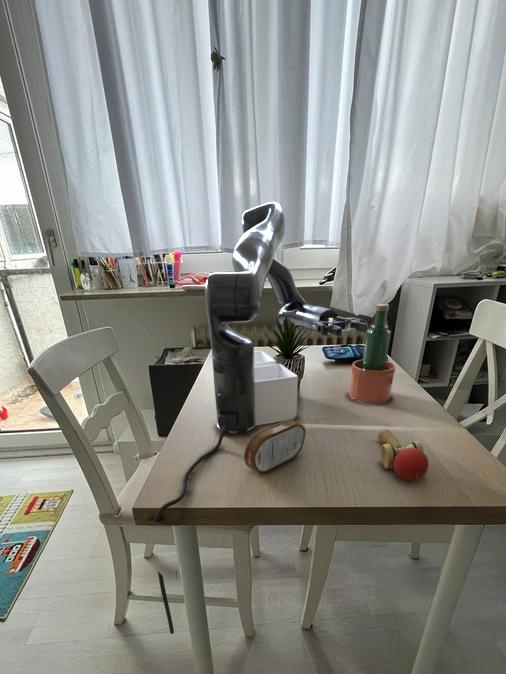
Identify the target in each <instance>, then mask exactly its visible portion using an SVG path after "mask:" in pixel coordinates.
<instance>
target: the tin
mask: <svg viewBox="0 0 506 674" xmlns="http://www.w3.org/2000/svg"><path fill="white" fill-rule="evenodd" d="M305 438H306V428H305V426H303V425H302V424H301V423H300V422H298V421H296V420H295V419H288V420H285V421H279V422H277V423H276V424H273V425H270V426H267V427H265V428H263V429H260V430H257V432H255V433H254V434H253V435H252V436H251V438H250V439H249V440H248V442H247V444H246V447H245V449H244V453H243V459H244V463H245V465H246V466H247V467H248V468H250V469H252V470H254V471H255V472H257V473H261V474H262V473H266V472H268V471H271V470H273V469H275V468H277V467H279V466H281V465H283V464H285V463H287V462H289V461H291V460H293V459H294V458H296V457H297V456H298V454H299V453H300V452H301V450H302V449H303V447H304V445H305Z"/></svg>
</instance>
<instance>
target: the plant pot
mask: <svg viewBox="0 0 506 674" xmlns="http://www.w3.org/2000/svg"><path fill="white" fill-rule="evenodd" d="M362 364H363V359H358V360H355V361H353V362H352V364H351V371H350V382H349V389H348V396H349V397H350V398H351V399H353V400H355V401H358V402H362V403H370V404H371V403H383V402H386V401H389V400H390V398H391V395H392V390H393V385H394V384H393V383H394V380H395V379H394V378H395V374H396V373H395V372H396V367H397V366H396V364H395V363H393V362H392V361H390V360H389V361H388V360H386V365H385V370H382V371H372V370H365V369H362Z"/></svg>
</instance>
